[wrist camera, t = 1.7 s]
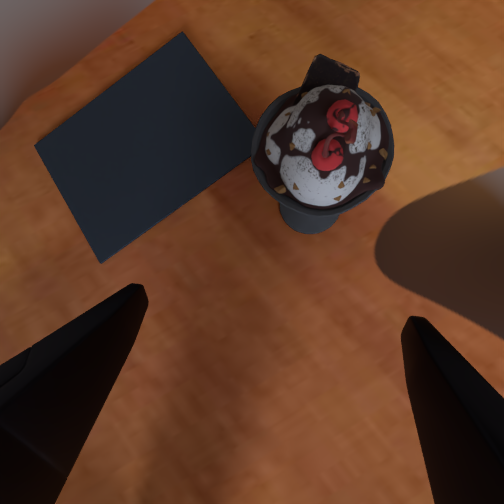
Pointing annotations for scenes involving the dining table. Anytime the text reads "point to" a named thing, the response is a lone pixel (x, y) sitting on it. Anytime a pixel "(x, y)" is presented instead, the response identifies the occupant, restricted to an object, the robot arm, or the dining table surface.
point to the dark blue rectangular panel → (146, 146)
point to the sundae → (322, 147)
